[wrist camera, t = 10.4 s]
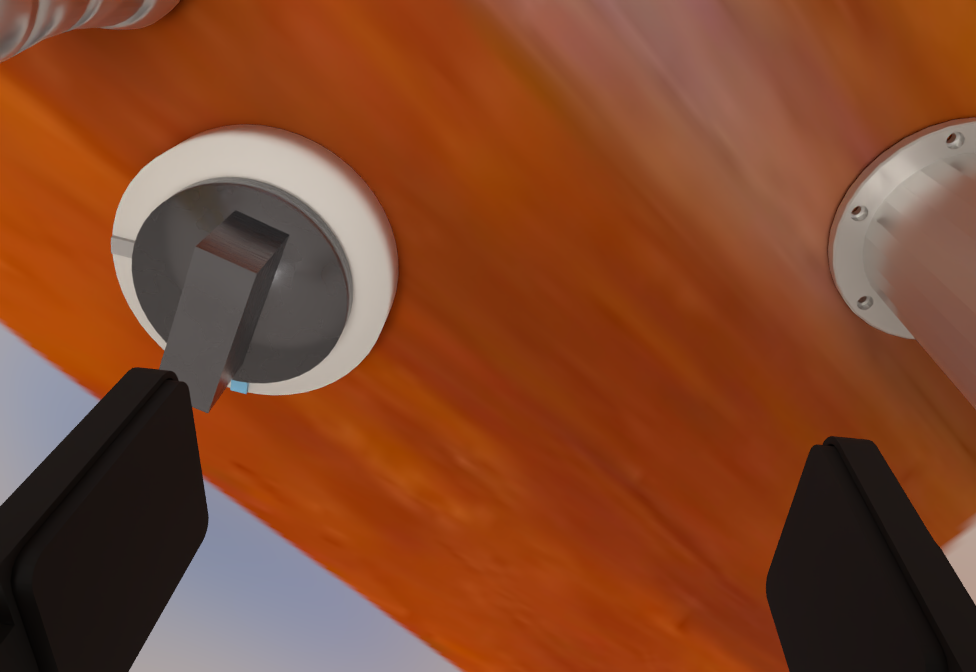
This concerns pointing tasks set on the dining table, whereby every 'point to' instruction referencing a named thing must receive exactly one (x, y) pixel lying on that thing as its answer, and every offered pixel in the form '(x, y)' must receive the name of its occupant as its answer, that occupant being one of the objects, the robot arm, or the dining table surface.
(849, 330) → the dining table surface
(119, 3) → the plastic bottle
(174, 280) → the dial knob
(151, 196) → the dial housing
